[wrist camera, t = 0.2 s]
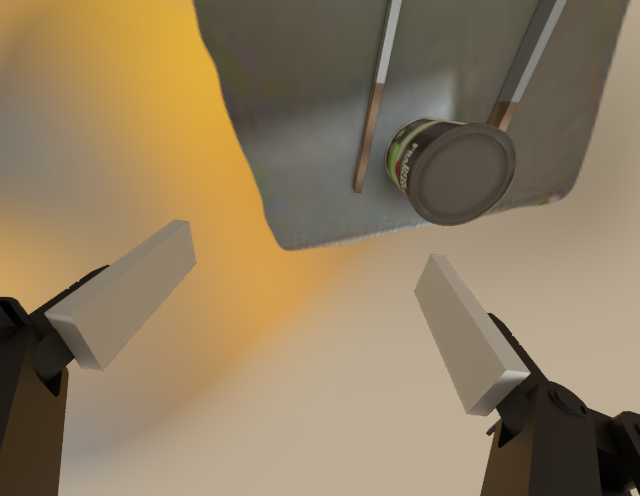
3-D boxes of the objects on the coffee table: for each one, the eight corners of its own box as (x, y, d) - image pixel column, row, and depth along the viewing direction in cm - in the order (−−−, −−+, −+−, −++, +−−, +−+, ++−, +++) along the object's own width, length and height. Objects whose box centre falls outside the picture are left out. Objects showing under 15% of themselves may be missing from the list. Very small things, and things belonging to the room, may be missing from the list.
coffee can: (382, 190, 39) (404, 228, 27) (386, 120, 34) (416, 127, 22) (447, 187, 38) (499, 224, 26) (462, 114, 33) (535, 119, 21)
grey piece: (406, -94, 24) (415, -118, 22) (578, -67, 24) (607, -88, 22) (372, 84, 32) (376, 82, 29) (503, 102, 32) (518, 102, 30)
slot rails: (372, 84, 32) (376, 82, 29) (503, 102, 32) (518, 102, 30) (353, 186, 39) (354, 192, 36) (460, 200, 39) (469, 207, 37)
